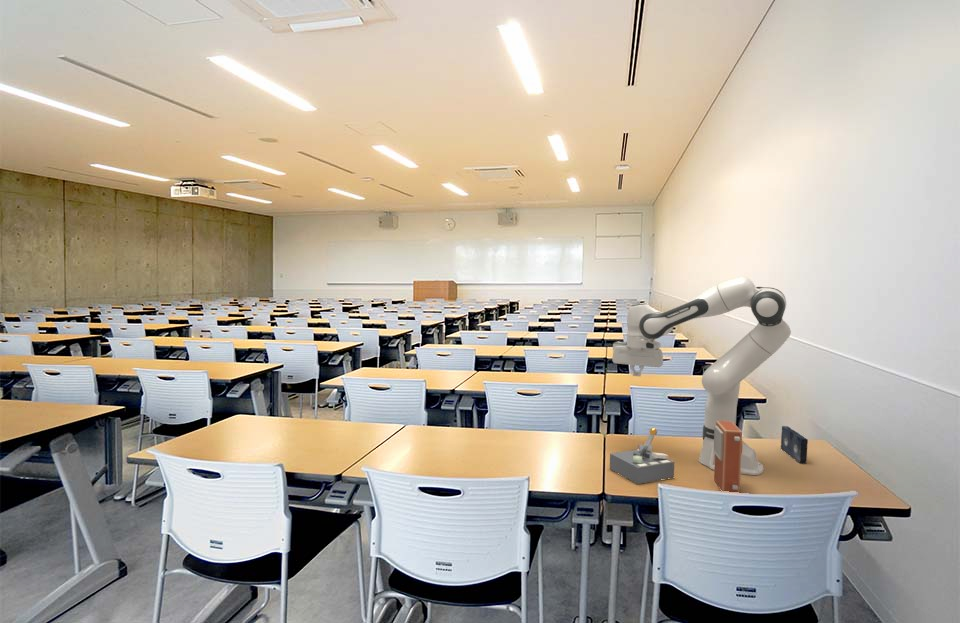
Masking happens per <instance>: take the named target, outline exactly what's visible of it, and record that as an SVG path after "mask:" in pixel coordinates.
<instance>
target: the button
mask: <svg viewBox="0 0 960 623" xmlns="http://www.w3.org/2000/svg"><path fill="white" fill-rule="evenodd" d="M633 463H636V464H641V463H642V457H641V456H637V455H636V456H633Z"/></svg>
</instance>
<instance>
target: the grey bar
mask: <svg viewBox="0 0 960 623" xmlns="http://www.w3.org/2000/svg"><path fill="white" fill-rule="evenodd" d="M643 446H644V444H638V445H637V447H638V449H639V452H640V451H641V450H642V448H643ZM653 449H654V448H653V445H652V443H651V444H650V446H649V448H648V450H649V451H652V450H653Z"/></svg>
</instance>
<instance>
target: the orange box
mask: <svg viewBox="0 0 960 623" xmlns="http://www.w3.org/2000/svg"><path fill="white" fill-rule="evenodd" d="M714 427H715V429H714V450H713V451H714V453H715V467H714V470H713V471H714V472H713V480H714V481H715V482H714V483H716V485H717V486H719V487H720V488H719V487H718V488H719V490H720V489H721V490H722V491H729V492H740V491H741V473H740V471H741V454H742V441H743V431H742V430H741V429H740V428H739V427H738V426H737V425H735V424H734V423H733V422H730V421H716V425H715V426H714ZM721 490H720V491H721ZM722 491H721V492H722Z"/></svg>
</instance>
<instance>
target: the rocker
mask: <svg viewBox="0 0 960 623" xmlns="http://www.w3.org/2000/svg"><path fill="white" fill-rule="evenodd" d="M652 456H653V457H655V458H663V459H669V455H668V454H665V453H663V452H662V453H661V452H653V453H652Z"/></svg>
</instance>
